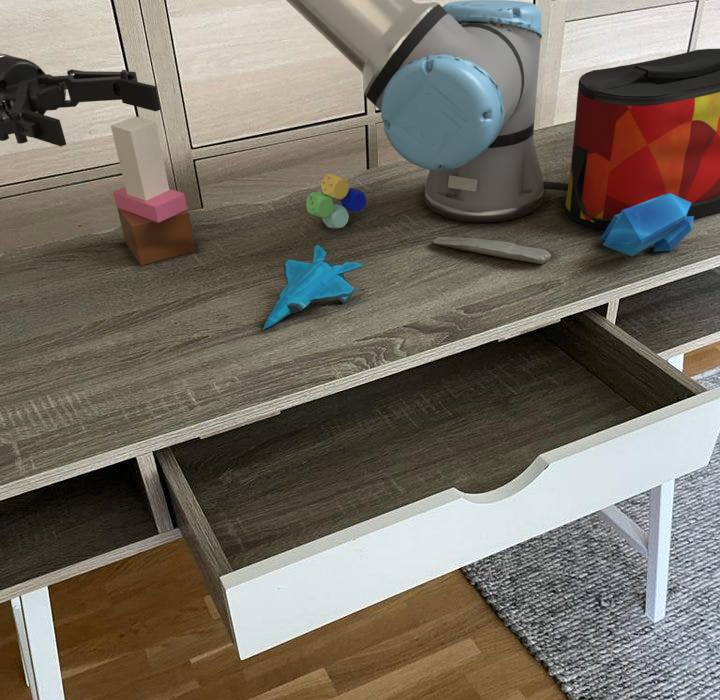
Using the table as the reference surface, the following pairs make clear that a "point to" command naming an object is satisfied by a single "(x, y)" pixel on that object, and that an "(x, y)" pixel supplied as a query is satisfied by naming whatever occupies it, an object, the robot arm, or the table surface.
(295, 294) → the toy airplane
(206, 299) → the table surface
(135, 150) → the block on pink pedestal
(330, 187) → the dice
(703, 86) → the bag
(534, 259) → the stone tool
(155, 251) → the wood block
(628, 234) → the crystal
